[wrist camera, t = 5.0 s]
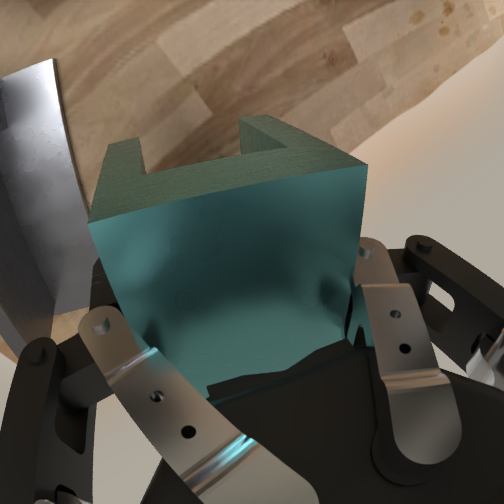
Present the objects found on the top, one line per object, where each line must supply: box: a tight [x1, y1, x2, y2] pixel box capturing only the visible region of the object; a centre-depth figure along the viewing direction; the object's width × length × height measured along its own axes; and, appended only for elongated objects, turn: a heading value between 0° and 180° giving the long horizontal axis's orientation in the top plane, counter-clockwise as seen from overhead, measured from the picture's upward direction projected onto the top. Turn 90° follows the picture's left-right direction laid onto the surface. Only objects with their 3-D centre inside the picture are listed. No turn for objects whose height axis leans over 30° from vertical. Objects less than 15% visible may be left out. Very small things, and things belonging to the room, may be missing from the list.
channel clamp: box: [87, 115, 368, 399], centre depth 11 cm, size 8×6×6 cm
